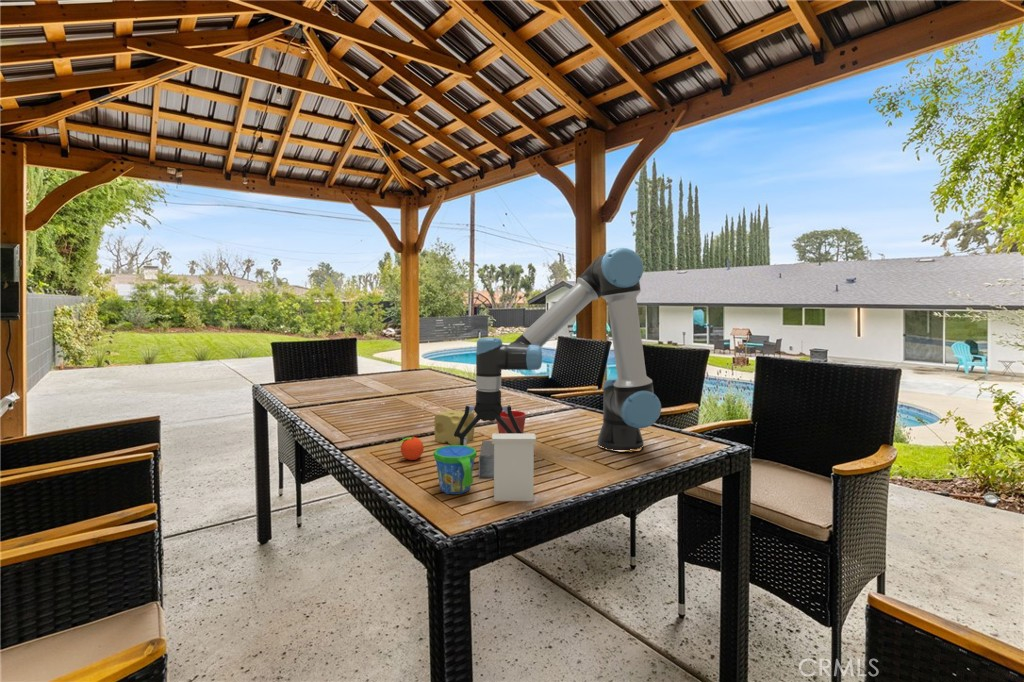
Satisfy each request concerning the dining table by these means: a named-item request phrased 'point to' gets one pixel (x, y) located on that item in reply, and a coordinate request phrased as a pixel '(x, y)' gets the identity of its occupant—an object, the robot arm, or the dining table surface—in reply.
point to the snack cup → (455, 468)
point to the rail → (486, 460)
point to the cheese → (451, 426)
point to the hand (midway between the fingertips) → (487, 459)
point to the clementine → (411, 448)
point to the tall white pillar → (513, 466)
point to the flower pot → (519, 419)
